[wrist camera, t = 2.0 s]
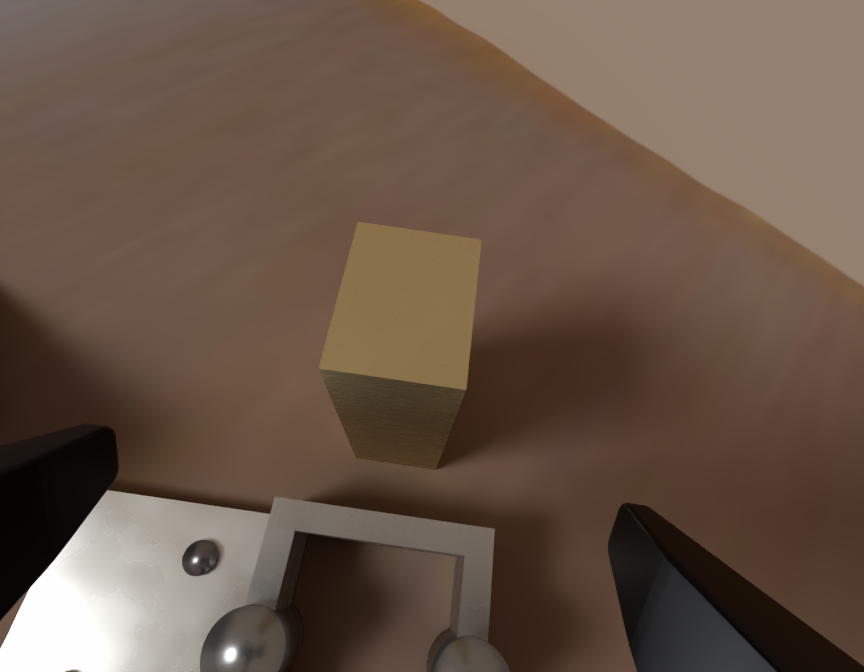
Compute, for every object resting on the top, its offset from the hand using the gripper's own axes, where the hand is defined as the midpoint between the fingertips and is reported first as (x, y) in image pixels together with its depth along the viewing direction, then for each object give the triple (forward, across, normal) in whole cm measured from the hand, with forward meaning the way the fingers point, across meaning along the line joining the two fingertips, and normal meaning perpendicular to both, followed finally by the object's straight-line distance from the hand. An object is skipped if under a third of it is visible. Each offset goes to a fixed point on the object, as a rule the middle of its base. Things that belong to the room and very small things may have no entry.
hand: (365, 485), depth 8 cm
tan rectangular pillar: (+12, 0, +5) cm, 13 cm away
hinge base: (+5, +4, +11) cm, 13 cm away
